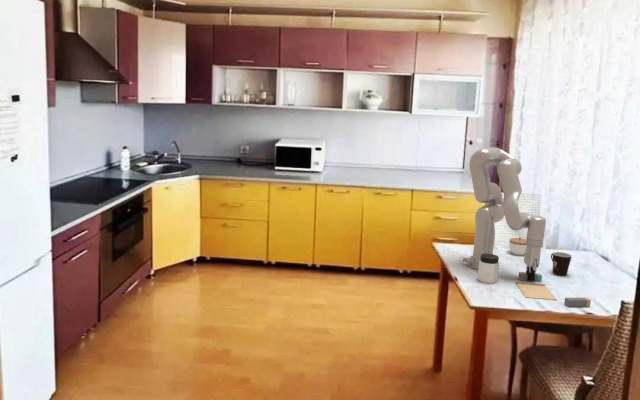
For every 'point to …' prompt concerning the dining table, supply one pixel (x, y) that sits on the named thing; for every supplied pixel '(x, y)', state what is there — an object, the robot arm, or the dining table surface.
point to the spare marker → (577, 302)
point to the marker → (525, 275)
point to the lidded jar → (517, 246)
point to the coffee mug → (560, 263)
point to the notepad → (535, 291)
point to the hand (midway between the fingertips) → (529, 279)
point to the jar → (488, 268)
